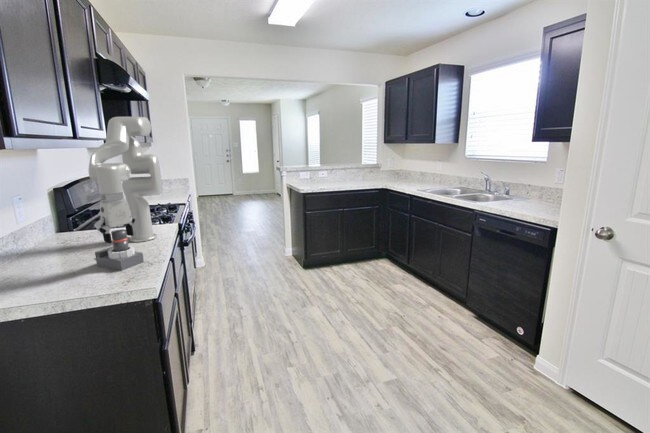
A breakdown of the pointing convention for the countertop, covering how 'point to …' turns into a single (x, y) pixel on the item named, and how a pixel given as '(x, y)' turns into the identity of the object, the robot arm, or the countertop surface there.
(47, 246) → the countertop surface
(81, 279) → the countertop surface
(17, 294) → the countertop surface
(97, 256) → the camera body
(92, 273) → the countertop surface
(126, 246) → the lens
